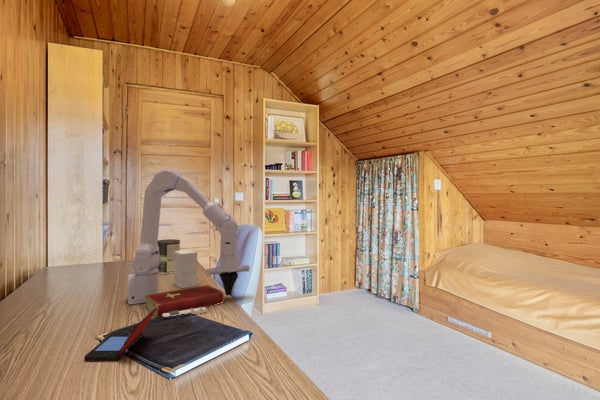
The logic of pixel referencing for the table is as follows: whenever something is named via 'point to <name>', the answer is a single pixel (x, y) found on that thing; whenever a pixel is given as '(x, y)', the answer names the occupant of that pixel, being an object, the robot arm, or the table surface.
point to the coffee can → (167, 255)
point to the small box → (185, 268)
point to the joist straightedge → (185, 312)
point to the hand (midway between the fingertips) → (228, 294)
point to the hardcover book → (184, 299)
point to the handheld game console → (117, 343)
